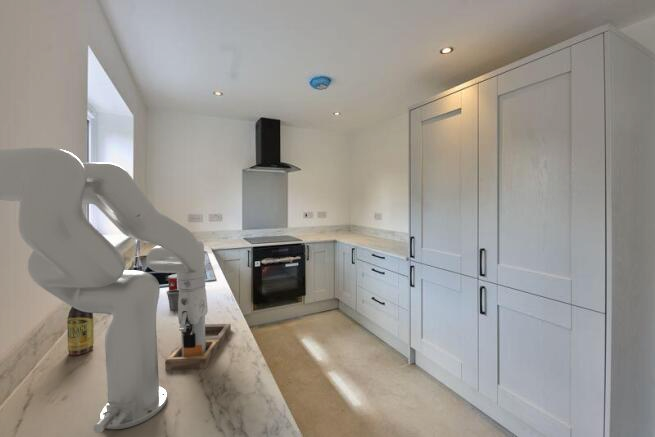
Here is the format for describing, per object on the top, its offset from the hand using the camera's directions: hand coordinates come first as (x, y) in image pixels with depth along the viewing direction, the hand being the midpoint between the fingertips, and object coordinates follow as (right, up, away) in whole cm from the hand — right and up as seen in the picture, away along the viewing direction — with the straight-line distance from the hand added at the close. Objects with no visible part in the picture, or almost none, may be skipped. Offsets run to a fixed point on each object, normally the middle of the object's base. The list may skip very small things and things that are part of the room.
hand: (193, 341), depth 86 cm
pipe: (-25, -3, +40) cm, 47 cm away
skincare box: (0, -4, 0) cm, 4 cm away
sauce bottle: (-38, -5, +5) cm, 38 cm away
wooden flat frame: (0, -5, +6) cm, 8 cm away
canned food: (-34, -2, +56) cm, 65 cm away
